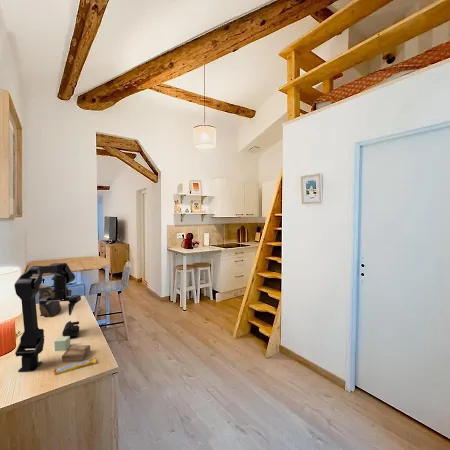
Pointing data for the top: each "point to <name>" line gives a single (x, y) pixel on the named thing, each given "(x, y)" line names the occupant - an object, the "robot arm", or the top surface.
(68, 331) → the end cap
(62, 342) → the block
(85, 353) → the base
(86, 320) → the top surface
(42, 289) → the owl
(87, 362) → the candy bar
